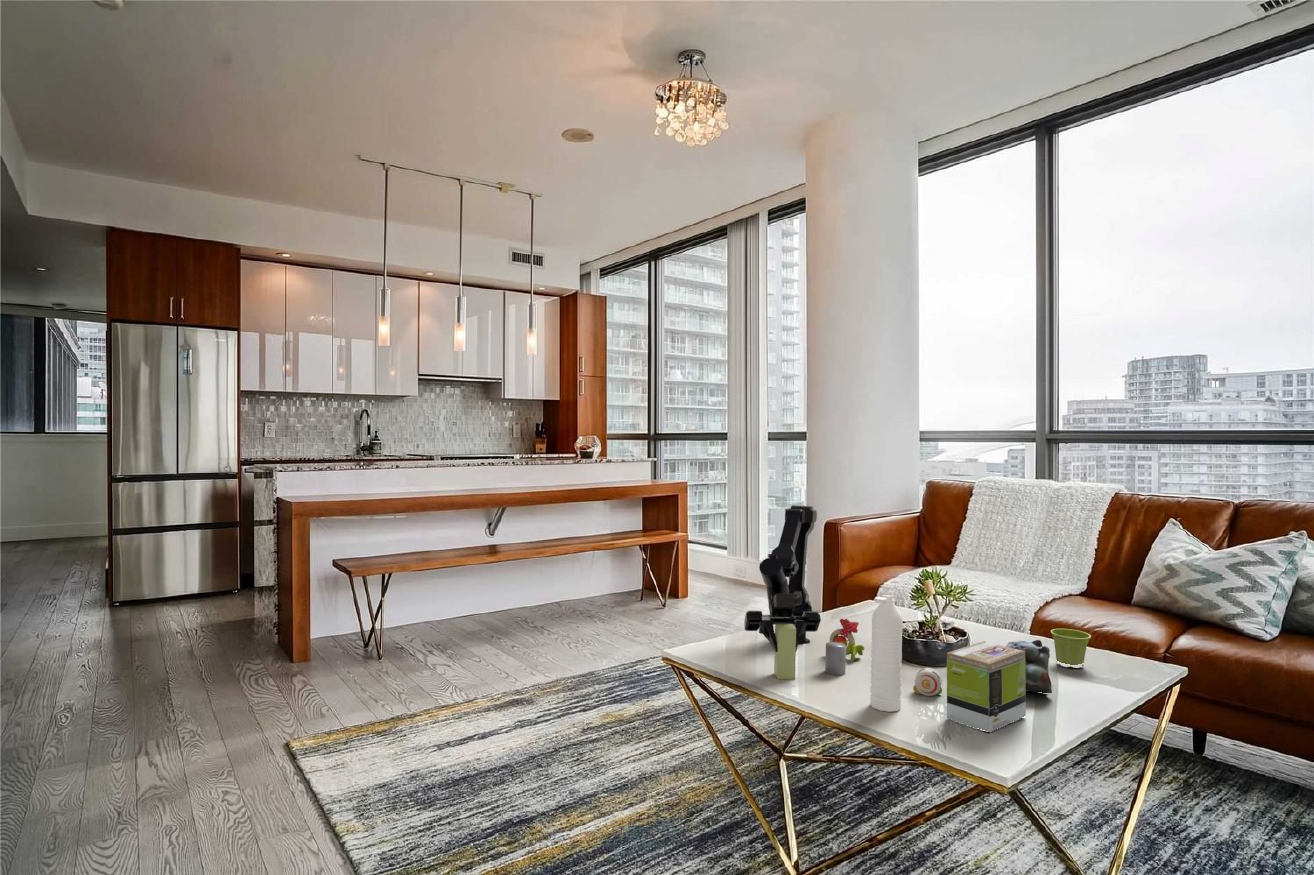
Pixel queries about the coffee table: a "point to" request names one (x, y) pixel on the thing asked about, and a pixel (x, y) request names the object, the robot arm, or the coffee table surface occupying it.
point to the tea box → (986, 685)
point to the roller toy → (928, 682)
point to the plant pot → (1070, 645)
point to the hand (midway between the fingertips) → (786, 651)
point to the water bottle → (886, 655)
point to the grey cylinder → (835, 658)
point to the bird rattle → (847, 632)
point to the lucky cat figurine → (1035, 665)
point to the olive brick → (785, 651)
